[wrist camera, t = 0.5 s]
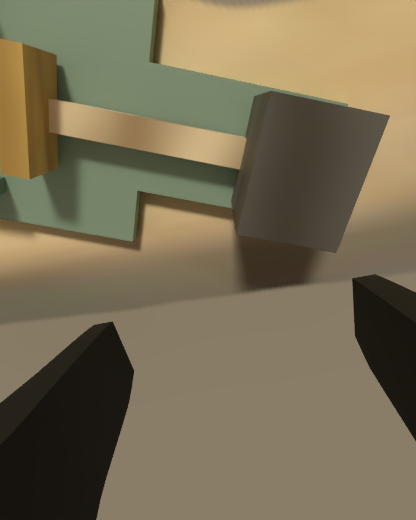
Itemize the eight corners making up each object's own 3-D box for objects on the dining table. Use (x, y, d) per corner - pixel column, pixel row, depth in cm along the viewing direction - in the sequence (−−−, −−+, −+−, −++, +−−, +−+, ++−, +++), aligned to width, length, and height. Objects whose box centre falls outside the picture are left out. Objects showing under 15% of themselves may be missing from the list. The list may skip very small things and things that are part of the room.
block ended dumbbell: (336, 113, 15) (389, 115, 10) (303, 214, 17) (335, 252, 13) (30, 49, 14) (-59, 21, 10) (35, 163, 16) (-35, 185, 12)
